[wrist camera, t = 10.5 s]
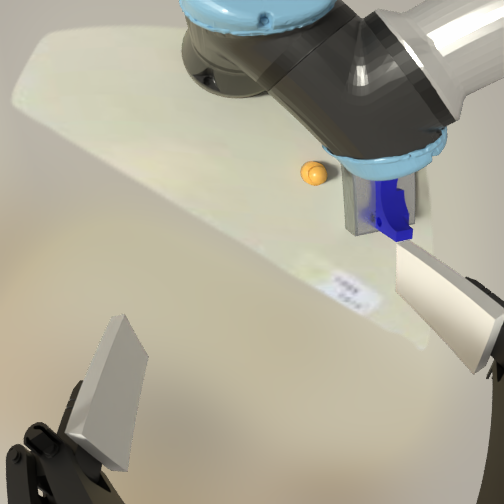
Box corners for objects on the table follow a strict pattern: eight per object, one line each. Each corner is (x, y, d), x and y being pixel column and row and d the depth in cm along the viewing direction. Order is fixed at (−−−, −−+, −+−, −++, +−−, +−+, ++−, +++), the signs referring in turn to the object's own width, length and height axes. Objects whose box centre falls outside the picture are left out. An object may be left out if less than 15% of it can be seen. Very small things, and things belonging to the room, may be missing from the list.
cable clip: (398, 224, 41) (419, 236, 36) (375, 228, 41) (396, 241, 36) (397, 150, 37) (421, 154, 31) (373, 151, 36) (396, 154, 31)
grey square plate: (338, 143, 39) (367, 146, 31) (400, 139, 40) (434, 143, 32) (345, 228, 45) (371, 249, 37) (402, 217, 45) (433, 234, 37)
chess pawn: (299, 162, 40) (306, 165, 37) (320, 160, 40) (329, 162, 37) (301, 184, 41) (309, 189, 38) (322, 181, 41) (331, 185, 38)
